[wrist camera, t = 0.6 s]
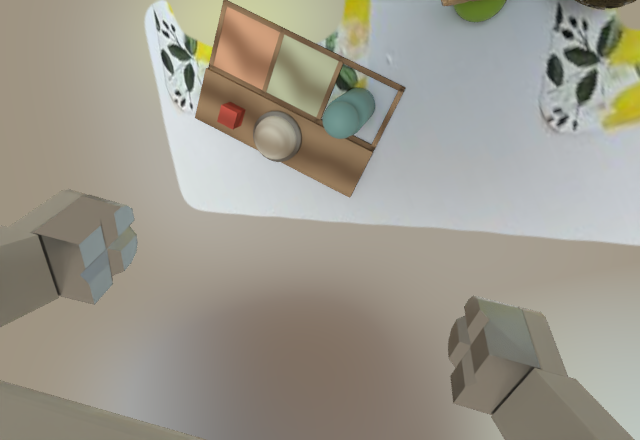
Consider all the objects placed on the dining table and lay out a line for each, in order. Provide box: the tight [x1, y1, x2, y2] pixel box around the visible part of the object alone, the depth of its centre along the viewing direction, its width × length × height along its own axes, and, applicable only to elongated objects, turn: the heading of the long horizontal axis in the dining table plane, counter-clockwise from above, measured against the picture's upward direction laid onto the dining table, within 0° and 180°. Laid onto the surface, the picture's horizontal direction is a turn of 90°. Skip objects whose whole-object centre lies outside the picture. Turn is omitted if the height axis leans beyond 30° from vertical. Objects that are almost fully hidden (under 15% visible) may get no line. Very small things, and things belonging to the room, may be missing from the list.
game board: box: [195, 0, 405, 197], centre depth 52 cm, size 16×26×6 cm, turn 67°
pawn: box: [323, 88, 375, 139], centre depth 46 cm, size 4×4×12 cm
